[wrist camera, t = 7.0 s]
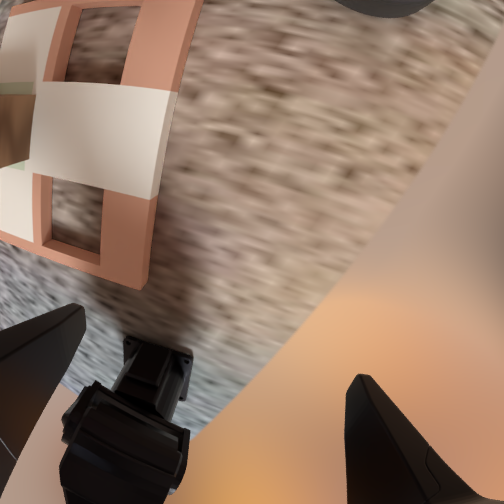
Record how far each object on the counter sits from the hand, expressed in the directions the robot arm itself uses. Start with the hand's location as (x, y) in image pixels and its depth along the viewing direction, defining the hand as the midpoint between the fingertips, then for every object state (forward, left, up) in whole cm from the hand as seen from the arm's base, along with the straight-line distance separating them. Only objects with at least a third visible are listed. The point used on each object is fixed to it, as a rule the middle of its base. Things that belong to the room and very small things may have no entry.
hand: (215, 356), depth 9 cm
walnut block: (+4, +20, -11) cm, 23 cm away
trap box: (+4, +15, -13) cm, 20 cm away
